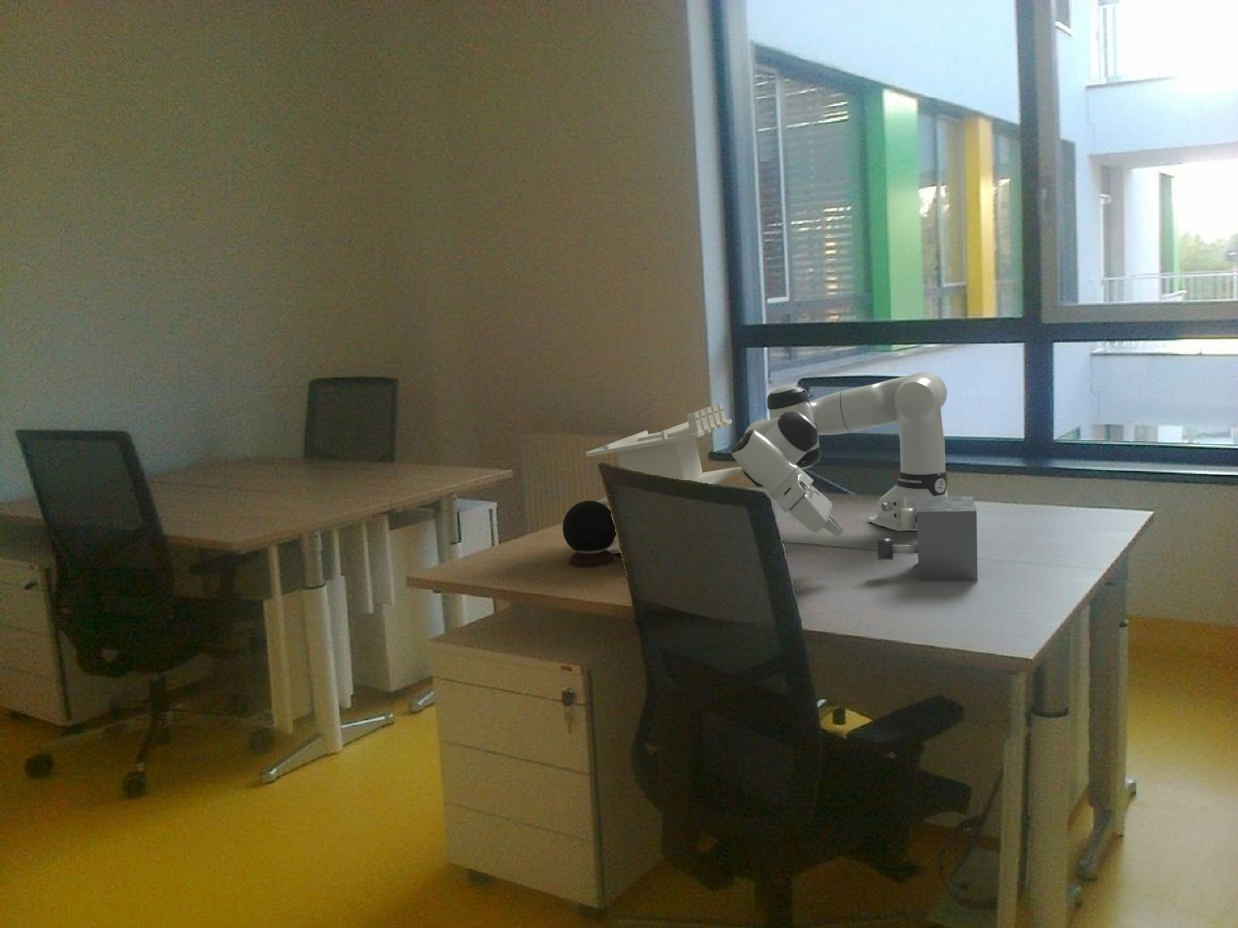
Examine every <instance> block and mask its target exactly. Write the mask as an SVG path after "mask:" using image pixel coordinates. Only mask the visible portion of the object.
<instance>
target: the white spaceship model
mask: <svg viewBox="0 0 1238 928" xmlns="http://www.w3.org/2000/svg"><path fill="white" fill-rule="evenodd" d="M686 418H687V421H685V422H683V423H680V424H678V425H675V426H672V427H670V428H669V427H668V428H666V429H663V430H662V431H659V432H654V433H653V432H652V433H649V432H648V430H644V431H643V430H642V431H641V432H638V433H636V434H633V435H630V436H627V437H625V438H621V439H619V440H615V441H614V442H611V443H608V444H605V445H603V446H600V447H597V448H595V449H592V450H589V451H587V452H585V457H597V456H601V455H607V454H612V453H617V457H618V463H619V467H620V468H621V467H623V468H626V469H629V470H632V471H639V472H643V473H646V474H650V475H659V476H663V477H668V478H673V479H679V480H692V481H697V482H702V483H708V484H715V485H717V484H719V483H721V482H723V481H724V480H725V479H728V478H730V477H732V476H733V475H736V474H737V473H739V472H741V471H742V470H743V468H742V467H741V466H736V467H730V468H724V469H723V468H722V469H718V470H711V471H705V472H703V469H702V463H701V458H700V454H699V449H698V443H697V438H701V437H703V436H705V434H710V433H711V432H713V431H714V432H715V431H716V430H718V429H722V428H723V427H726V426H728V425H730V424H732V423H733V421H732V418H730V419H727V418H726V413H725V408H724V405H723V403H717V404H716V403H715V404H712V405H711V406H707V407H706V408H701V409H700V410H696V411H694V412H692V413H688V414H687V416H686ZM607 496H608V495H606V496H603V497H602V498H599V499H598V500H596V501H597V502H599V503H602V504H604V505H605V506H607V505H609V504H608V500H607ZM607 550H608V551H609V552H611V553H612V554H613V555H614V554H621V553H620V552H619V546H618V542H616V543H614V544H613V545H610V547H609V548H607Z"/></svg>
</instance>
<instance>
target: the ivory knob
mask: <svg viewBox="0 0 1238 928" xmlns="http://www.w3.org/2000/svg"><path fill="white" fill-rule="evenodd" d="M916 523H917V514H916V508H902V529H916Z"/></svg>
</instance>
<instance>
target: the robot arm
mask: <svg viewBox="0 0 1238 928" xmlns="http://www.w3.org/2000/svg"><path fill="white" fill-rule="evenodd" d="M813 397H815V395H814V394H813V393H809V391H807V390H806V389H805V388H803V387H802V386H799V385H791V384H786V385H782V386H779V387H777V388H775V389H774V390H773V391H771V392H769V393H768V395H767V398H766V406H767V410H768V412H769V413H768V414H769V419H758V420H756V421H754V422H752V423H751V424H750V425H748V427H747V428H746V429H745V431H744V434H743V435H742V436H741V437H740V438H739V439H738V440H737V441H736V443H735V444H734V446H733V447H732V449H731V455H732V457H733V458H734V459H735V461H736V462H737V464H738V465H739V467H741V468H742V470H743V471H742V473H743V475H744V476H745V477H746V478H747V479H748V480H750V481H751V482H752V483H753V484H754V485H755V486H756V487H757V488H765V490H766V491H767V493H768V494H769V496H771V497H772V499H774V501H775V502H777V504H778V506H779V508H780V509H781V510H782V511H783V512H785V513H788V512H789V514H790V515H791V516H792V517H794V518H795V519H796V520H797V521H798V522H799V523H801V525H803V526H805V527H806V528H807V529H808V530H810V531H811V532H813V533H815V534H816V533H819V532H820V530H821V529H823V528H824V529H825V530H827V531H829V532H830V533H832V535H834V537H837V538H838V537H840V536H841V535H842V534H843V531H844V529H843V527H842V526H841V525H840V524H839V523H838V522H837V520H836V519H835V517H834V516H833V515H831V514H830V513H831V511H832V509H833V503H832V502H831V500H829V499H828V497H827V496H825V494H823V493H822V492H820V491H819V490H818V489H817V488H816V487H814V486H813V485H812V484H813V483H814V479H813V478H812V477H811V476H809V475H808V473H806V471H804V470H805V469H809V468H810V467H812V466H814V465H816V464H818V463H819V461H820V460H821V458H822V446H821V444H820V442H819V441H820V439H819V436H823V435H824V436H828V435H829V436H830V435H831V436H832V435H843V434H848V433H853V432H860V431H865V430H869V429H873V428H874V429H875V428H879V427H883V426H886V425H887V426H888V425H889V424H890V425H891V424H895V423H897V431H898V435H899V452H900V454H899V455H900V456H899V457H900V460H899V461H900V471H899V472H896V473H892V474H893V476H892V478H893V479H896V482H895V485H894V486H893V487H892V488H890V489H889V490H888V491H887V492H886V493H884V494H883V495H882V496H881V497H879V500H878V502H877V507H876V509H877V510H876V511H877V512H876V514H874V515H872V516H869V517H868V518H867V519H868V520H867V522H868V523H871V522H872V524H874V525H876V526H880V527H883V526H884V528H887V529H890V530H893V531H896V532H897V531H898V532H907V531H908V532H909V531H916V532H917V523H916V529H902V508H916V514H917V497H949V496H948V491H947V486H948V478H949V477H948V471H947V470H946V443H945V442H946V441H945V440H946V439H945V437H944V427H943V419H942V418H943V417H942V407H944V405H945V402H946V401H947V397H948V389H947V386H946V384H945V382H944V381H943V378H941V377H940V376H938V375H937V374H935V373H933V372H928V371H922V372H917V373H912V374H908V375H905V376H900V377H897V378H892V379H888V380H884V381H880V382H876V383H873V384H867V385H863V386H859V387H854V388H849V389H844V390H840V391H836V392H833V393H828V394H827V395H823V396H821V397H818V398H816V399H813V400H809V399H811V398H813Z"/></svg>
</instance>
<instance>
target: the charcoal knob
mask: <svg viewBox="0 0 1238 928" xmlns="http://www.w3.org/2000/svg"><path fill="white" fill-rule="evenodd" d="M893 542H894V541H893V537H892V538H891V537H890V538H884V537H883V538H882V537H881V538H879V537H878V538H877V558H878V560H879V561H881V560H882V561H885V560H887V561H888V560H891V561H893V560H894V558H893V557H894V554H918V544H893Z"/></svg>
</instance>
